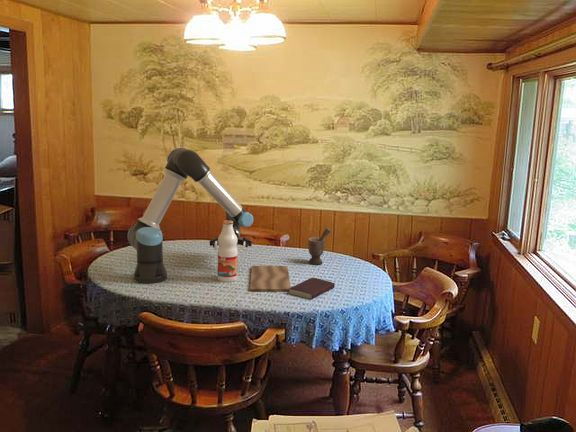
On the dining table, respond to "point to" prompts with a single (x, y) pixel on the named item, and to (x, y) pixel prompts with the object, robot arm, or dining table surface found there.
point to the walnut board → (270, 279)
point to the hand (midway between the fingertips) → (229, 247)
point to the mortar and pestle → (317, 247)
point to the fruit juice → (227, 253)
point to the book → (311, 288)
